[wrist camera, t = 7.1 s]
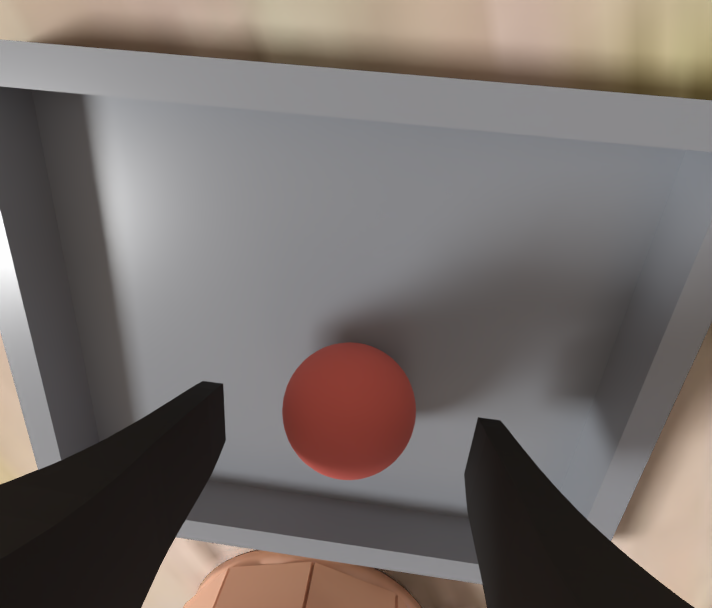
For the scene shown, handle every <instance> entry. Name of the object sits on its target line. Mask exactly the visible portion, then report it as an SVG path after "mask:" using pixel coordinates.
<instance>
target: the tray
mask: <svg viewBox="0 0 712 608" xmlns="http://www.w3.org/2000/svg"><path fill="white" fill-rule="evenodd" d="M711 323H712V100H700V99H688V98H677V97H665V96H653V95H642V94H630V93H618V92H607V91H595V90H583V89H572V88H560V87H548V86H536V85H525V84H513V83H501V82H490V81H478V80H466V79H455V78H443V77H431V76H420V75H408V74H396V73H384V72H373V71H361V70H349V69H338V68H326V67H314V66H303V65H291V64H279V63H268V62H256V61H244V60H233V59H221V58H209V57H197V56H186V55H174V54H162V53H151V52H139V51H127V50H116V49H104V48H92V47H81V46H69V45H57V44H45V43H34V42H22V41H10V40H0V332H1V336H2V340H3V343H4V347H5V351H6V354H7V358H8V362H9V365H10V369H11V372H12V376H13V380H14V383H15V387H16V391H17V394H18V398H19V402H20V405H21V409H22V413H23V416H24V420H25V423H26V427H27V431H28V434H29V438H30V442H31V445H32V449H33V453H34V456H35V460H36V464H37V467H38V470H39V469H41V468H44V467H46V466H49V465H51V464H54V463H56V462H58V461H61V460H63V459H65V458H67V457H69V456H72V455H74V454H76V453H78V452H80V451H82V450H84V449H86V448H88V447H90V446H92V445H94V444H96V443H98V442H100V441H102V440H104V439H106V438H108V437H110V436H111V435H113V434H115V433H117V432H119V431H120V430H122V429H124V428H126V427H127V426H129V425H131V424H133V423H135V422H136V421H138V420H140V419H142V418H143V417H145V416H147V415H148V414H150V413H151V412H153V411H155V410H156V409H158V408H159V407H161V406H163V405H164V404H166V403H168V402H169V401H171V400H172V399H174V398H175V397H177V396H179V395H180V394H182V393H183V392H185V391H187V390H188V389H190V388H191V387H193V386H195V385H196V384H198V383H200V382H202V381H208V382H215V383H223V388H224V410H225V433H226V441H225V444H224V446H223V449H222V451H221V454H220V456H219V459H218V461H217V463H216V466H215V468H214V470H213V473H212V475H211V476H210V478H209V480H208V482H207V483H206V485H205V487H204V489H203V491H202V492H201V494H200V496H199V498H198V499H197V501H196V503H195V505H194V506H193V508H192V510H191V511H190V513H189V515H188V517H187V518H186V520H185V522H184V524H183V525H182V527H181V529H180V530H179V532H178V534H177V536H176V537H178V538H185V539H191V540H198V541H204V542H211V543H217V544H224V545H230V546H237V547H243V548H250V549H256V550H262V551H269V552H275V553H282V554H288V555H295V556H301V557H308V558H314V559H321V560H327V561H334V562H340V563H347V564H353V565H360V566H366V567H373V568H379V569H386V570H392V571H398V572H405V573H411V574H418V575H424V576H431V577H437V578H444V579H450V580H457V581H463V582H470V583H476V584H482V579H481V574H480V570H479V565H478V560H477V555H476V551H475V546H474V541H473V536H472V531H471V527H470V522H469V517H468V512H467V503H466V492H465V479H464V473H465V468H466V464H467V460H468V456H469V452H470V448H471V444H472V440H473V436H474V431H475V427H476V423H477V419H478V417H480V418H487V419H495V420H501V422H502V423H503V424H504V425H505V426H506V428H507V429H508V430H509V431H510V433H511V434H512V435H513V436H514V438H515V439H516V440H517V442H518V443H519V444H520V445H521V446H522V448H523V449H524V450H525V451H526V453H527V454H528V455H529V456H530V458H531V459H532V460H533V461H534V462H535V464H536V465H537V466H538V467H539V468H540V469H541V471H542V472H543V473H544V474H545V475H546V476H547V478H548V479H549V480H550V481H551V482H552V483H553V484H554V485H555V487H556V488H557V489H558V490H559V491H560V492H561V493H562V494H563V495H564V496H565V497H566V498H567V499H568V500H569V501H570V502H571V504H572V505H573V506H574V507H575V508H576V509H577V510H578V511H579V512H580V513H581V514H582V515H583V516H584V517H585V518H586V519H587V520H588V521H589V522H590V523H591V524H593V525H594V526H595V527H596V528H597V529H598V530H599V531H600V532H601V533H602V534H603V535H605V536H606V537H607V538H608V539H609V540H610V541H611V540H612V538H613V536H614V533H615V531H616V529H617V527H618V525H619V523H620V520H621V518H622V516H623V514H624V512H625V510H626V507H627V505H628V503H629V501H630V499H631V497H632V494H633V492H634V490H635V488H636V486H637V483H638V481H639V479H640V477H641V475H642V473H643V470H644V468H645V466H646V464H647V462H648V460H649V457H650V455H651V453H652V451H653V449H654V447H655V444H656V442H657V440H658V438H659V436H660V433H661V431H662V429H663V427H664V425H665V423H666V420H667V418H668V416H669V414H670V412H671V410H672V407H673V405H674V403H675V401H676V399H677V397H678V394H679V392H680V390H681V388H682V386H683V384H684V381H685V379H686V377H687V375H688V373H689V370H690V368H691V366H692V364H693V362H694V360H695V357H696V355H697V353H698V351H699V349H700V347H701V344H702V342H703V340H704V338H705V336H706V334H707V331H708V329H709V327H710V325H711ZM347 342H353V343H361V344H366V345H369V346H372V347H374V348H377V349H379V350H381V351H382V352H384V353H386V354H387V355H389V356H390V357H391V358H392V359H394V361H395V362H396V363H397V364H398V365H399V366H400V367H401V368H402V370H403V371H404V372H405V374H406V376H407V378H408V379H409V382H410V384H411V387H412V389H413V392H414V397H415V403H416V419H415V425H414V429H413V433H412V436H411V438H410V440H409V443H408V444H407V446H406V448H405V450H404V451H403V453H402V454H401V455H400V456H399V457H398V458H397V460H396V461H395V462H394V463H392V464H391V465H390V466H389V467H387V468H386V469H384V470H383V471H381V472H380V473H377V474H375V475H373V476H370V477H367V478H363V479H358V480H339V479H334V478H331V477H327V476H325V475H322V474H320V473H318V472H317V471H315V470H313V469H312V468H311V467H309V466H308V465H307V464H305V463H304V462H303V461H302V460H301V459H300V458H299V456H298V455H297V454H296V452H295V451H294V449H293V448H292V446H291V444H290V443H289V441H288V438H287V435H286V432H285V429H284V424H283V417H282V407H283V398H284V394H285V391H286V388H287V385H288V383H289V380H290V378H291V377H292V375H293V373H294V372H295V370H296V369H297V368H298V367H299V366H300V364H301V363H302V362H303V361H304V360H305V359H306V358H308V357H309V356H310V355H312V354H313V353H315V352H316V351H318V350H320V349H322V348H324V347H326V346H330V345H333V344H338V343H347Z"/></svg>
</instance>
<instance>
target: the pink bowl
mask: <svg viewBox="0 0 712 608" xmlns="http://www.w3.org/2000/svg"><path fill="white" fill-rule="evenodd" d="M183 608H421V606H420V605H419V604H418V602H417V601H416V600H415V599H414V598H413V596H412V595H411V594H410V593H409V592H408V591H407V590H406V589H404V588H403V587H402V586H401V585H400V584H398V583H397V582H396V581H395V580H393V579H391V578H390V577H388V576H387V575H385V574H384V573H382V572H380V571H378V570H377V569H375V568H373V567H366V566H360V565H353V564H347V563H340V562H334V561H327V560H321V559H314V558H308V557H301V556H295V555H288V554H282V553H275V552H269V551H262V550H258V551H253V552H249V553H245V554H242V555H239V556H236V557H234V558H232V559H230V560H228V561H226V562H224V563H222V564H221V565H219V566H218V567H216V568H215V569H214V570H213V571H212V572H210V573H209V574H208V575H207V576H206V578H205V579H204V580H203V582H202V583H201V584H200V586H199V589H198V591H197V593H196V595H195V596H194V597H193V598H191V599H190V600H189V601H188V602H187V603H185V605H184V607H183Z"/></svg>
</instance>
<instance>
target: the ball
mask: <svg viewBox="0 0 712 608" xmlns="http://www.w3.org/2000/svg"><path fill="white" fill-rule="evenodd" d="M282 417H283V424H284V429H285V432H286V435H287V438H288V441H289V443H290V444H291V446H292V448H293V449H294V451H295V452H296V454H297V455H298V456H299V458H300V459H301V460H302V461H303V462H304V463H305V464H307V465H308V466H309V467H311V468H312V469H313V470H315V471H317V472H318V473H320V474H322V475H325V476H327V477H331V478H334V479H339V480H358V479H363V478H367V477H370V476H373V475H375V474H377V473H380V472H381V471H383V470H384V469H386V468H387V467H389V466H390V465H391V464H392V463H394V462H395V461H396V460H397V458H398V457H399V456H400V455H401V454H402V453H403V451H404V450H405V448H406V446H407V444H408V443H409V440H410V438H411V436H412V433H413V429H414V425H415V419H416V403H415V397H414V392H413V389H412V387H411V384H410V382H409V379H408V378H407V376H406V374H405V372H404V371H403V370H402V368H401V367H400V366H399V365H398V364H397V363H396V362H395V361H394V359H392V358H391V357H390V356H389V355H387V354H386V353H384V352H382V351H381V350H379V349H377V348H374V347H372V346H369V345H366V344H361V343H353V342H347V343H338V344H333V345H330V346H326V347H324V348H322V349H320V350H318V351H316V352H315V353H313V354H312V355H310V356H309V357H308V358H306V359H305V360H304V361H303V362H302V363H301V364H300V366H299V367H298V368H297V369H296V370H295V372H294V373H293V375H292V377H291V378H290V380H289V383H288V385H287V388H286V391H285V394H284V398H283V407H282Z"/></svg>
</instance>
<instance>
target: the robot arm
mask: <svg viewBox="0 0 712 608" xmlns="http://www.w3.org/2000/svg"><path fill="white" fill-rule="evenodd" d="M225 441H226V433H225V410H224V388H223V383H215V382H208V381H202V382H200V383H198V384H196V385H195V386H193V387H191V388H190V389H188V390H187V391H185V392H183V393H182V394H180V395H179V396H177V397H175V398H174V399H172V400H171V401H169V402H168V403H166V404H164V405H163V406H161V407H159V408H158V409H156V410H155V411H153V412H151V413H150V414H148V415H147V416H145V417H143V418H142V419H140V420H138V421H136V422H135V423H133V424H131V425H129V426H127V427H126V428H124V429H122V430H120V431H119V432H117V433H115V434H113V435H111V436H110V437H108V438H106V439H104V440H102V441H100V442H98V443H96V444H94V445H92V446H90V447H88V448H86V449H84V450H82V451H80V452H78V453H76V454H74V455H72V456H69V457H67V458H65V459H63V460H61V461H58V462H56V463H54V464H51V465H49V466H46V467H44V468H41V469H39V470H36V471H34V472H31V473H29V474H26V475H24V476H22V477H19V478H17V479H14V480H12V481H9V482H6V483H3V484H1V485H0V608H141V607H142V604H143V602H144V600H145V598H146V596H147V593H148V591H149V589H150V587H151V585H152V583H153V580H154V578H155V576H156V574H157V572H158V570H159V567H160V565H161V563H162V561H163V559H164V557H165V556H166V554H167V552H168V550H169V548H170V546H171V544H172V543H173V541H174V539H175V537H176V536H177V534H178V532H179V530H180V529H181V527H182V525H183V524H184V522H185V520H186V518H187V517H188V515H189V513H190V511H191V510H192V508H193V506H194V505H195V503H196V501H197V499H198V498H199V496H200V494H201V492H202V491H203V489H204V487H205V485H206V483H207V482H208V480H209V478H210V476H211V475H212V473H213V470H214V468H215V466H216V463H217V461H218V459H219V456H220V454H221V451H222V449H223V446H224V444H225ZM464 479H465V492H466V503H467V512H468V517H469V522H470V527H471V531H472V536H473V541H474V546H475V551H476V555H477V560H478V565H479V570H480V574H481V579H482V584H483V589H484V593H485V599H486V605H487V608H694V607H693V606H691V605H690V604H688V603H687V602H686V601H684V600H683V599H681V598H680V597H679V596H677V595H676V594H675V593H673V592H672V591H671V590H670V589H668V588H667V587H666V586H664V585H663V584H662V583H660V582H659V581H658V580H656V579H655V578H654V577H653V576H652V575H650V574H649V573H648V572H647V571H645V570H644V569H643V568H642V567H640V566H639V565H638V564H637V563H636V562H634V561H633V560H632V559H631V558H629V557H628V556H627V555H626V554H625V553H624V552H622V551H621V550H620V549H619V548H618V547H617V546H615V545H614V544H613V543H612V542H611V541H610V540H609V539H608V538H607V537H606V536H605V535H603V534H602V533H601V532H600V531H599V530H598V529H597V528H596V527H595V526H594V525H593V524H591V523H590V522H589V521H588V520H587V519H586V518H585V517H584V516H583V515H582V514H581V513H580V512H579V511H578V510H577V509H576V508H575V507H574V506H573V505H572V504H571V502H570V501H569V500H568V499H567V498H566V497H565V496H564V495H563V494H562V493H561V492H560V491H559V490H558V489H557V488H556V487H555V485H554V484H553V483H552V482H551V481H550V480H549V479H548V478H547V476H546V475H545V474H544V473H543V472H542V471H541V469H540V468H539V467H538V466H537V465H536V464H535V462H534V461H533V460H532V459H531V458H530V456H529V455H528V454H527V453H526V451H525V450H524V449H523V448H522V446H521V445H520V444H519V443H518V442H517V440H516V439H515V438H514V436H513V435H512V434H511V433H510V431H509V430H508V429H507V428H506V426H505V425H504V424H503V423H502V422H501V420H495V419H487V418H480V417H478V419H477V423H476V427H475V431H474V436H473V440H472V444H471V448H470V452H469V456H468V460H467V464H466V468H465V473H464Z"/></svg>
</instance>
